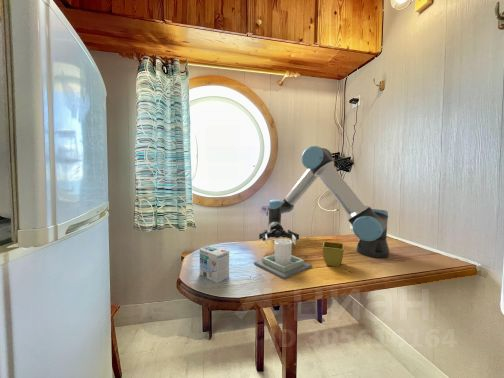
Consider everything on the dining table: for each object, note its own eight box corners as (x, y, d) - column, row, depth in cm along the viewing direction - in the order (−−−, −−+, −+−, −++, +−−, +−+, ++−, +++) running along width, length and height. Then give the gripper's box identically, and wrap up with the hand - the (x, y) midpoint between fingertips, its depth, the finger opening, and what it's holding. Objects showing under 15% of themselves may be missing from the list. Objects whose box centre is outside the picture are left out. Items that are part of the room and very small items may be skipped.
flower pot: (321, 266, 100) (322, 246, 100) (323, 259, 108) (323, 240, 108) (342, 269, 97) (343, 249, 96) (342, 262, 105) (343, 243, 104)
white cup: (291, 267, 96) (292, 244, 95) (272, 266, 98) (273, 243, 97) (291, 260, 104) (292, 239, 103) (274, 259, 105) (275, 238, 104)
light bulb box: (199, 275, 91) (198, 248, 90) (212, 269, 96) (211, 244, 95) (217, 283, 84) (216, 255, 83) (229, 277, 89) (229, 250, 88)
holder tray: (311, 266, 99) (312, 260, 99) (284, 279, 88) (284, 271, 88) (281, 254, 113) (281, 249, 113) (254, 264, 102) (254, 257, 102)
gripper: (297, 236, 129) (306, 249, 108) (254, 235, 129) (254, 248, 108) (298, 223, 128) (307, 234, 107) (254, 222, 128) (254, 233, 107)
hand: (280, 241), depth 107 cm, fingers open, 13 cm apart
